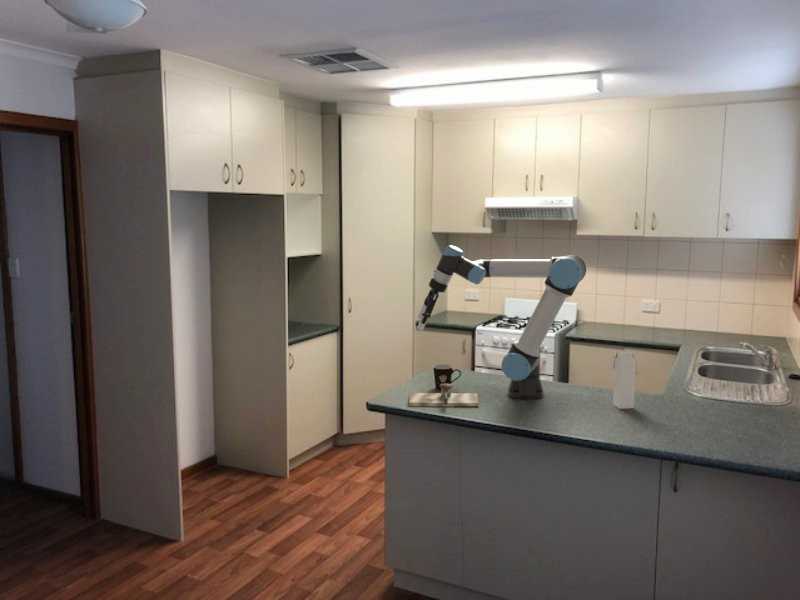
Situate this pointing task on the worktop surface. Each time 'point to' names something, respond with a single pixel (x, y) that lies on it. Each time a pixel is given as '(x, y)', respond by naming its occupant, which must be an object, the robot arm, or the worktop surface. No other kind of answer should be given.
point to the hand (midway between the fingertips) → (419, 324)
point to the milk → (624, 381)
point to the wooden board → (443, 399)
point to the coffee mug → (443, 374)
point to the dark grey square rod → (446, 391)
